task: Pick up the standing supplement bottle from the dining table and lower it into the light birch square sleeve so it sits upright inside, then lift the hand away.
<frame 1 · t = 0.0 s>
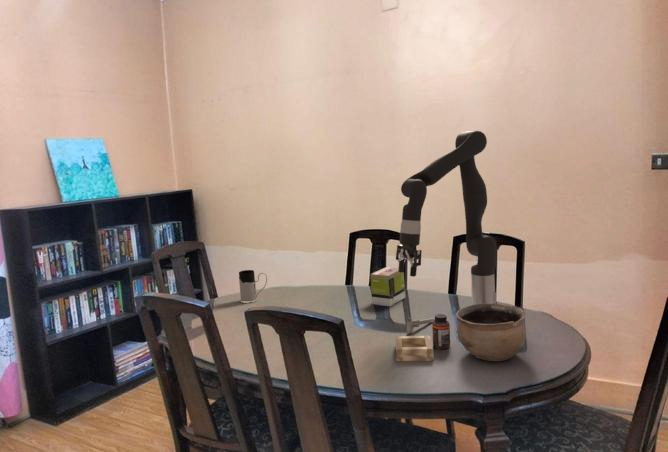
hand: (406, 274, 185), 22 cm above the table, tool pointing down, fingers open, 8 cm apart
supplement bottle: (441, 346, 171), on the table
square sleeve: (413, 353, 166), on the table
ceramic bowl: (490, 356, 160), on the table
tea box: (388, 301, 228), on the table
glass holder: (254, 300, 243), on the table
caliper: (422, 328, 191), on the table
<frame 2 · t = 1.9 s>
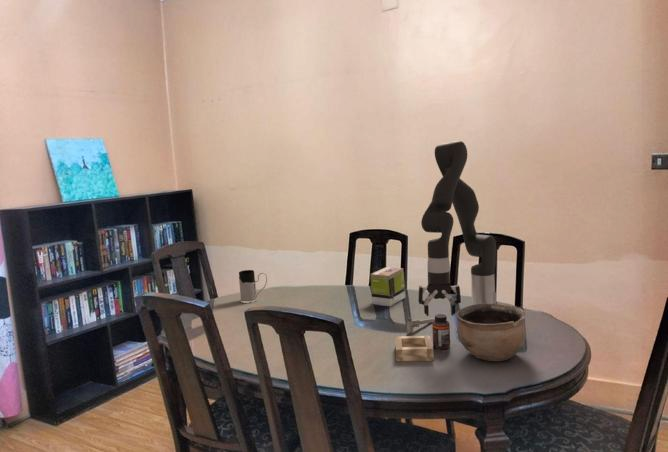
hand: (439, 315, 169), 11 cm above the table, tool pointing down, fingers open, 8 cm apart
nothing on the table moved.
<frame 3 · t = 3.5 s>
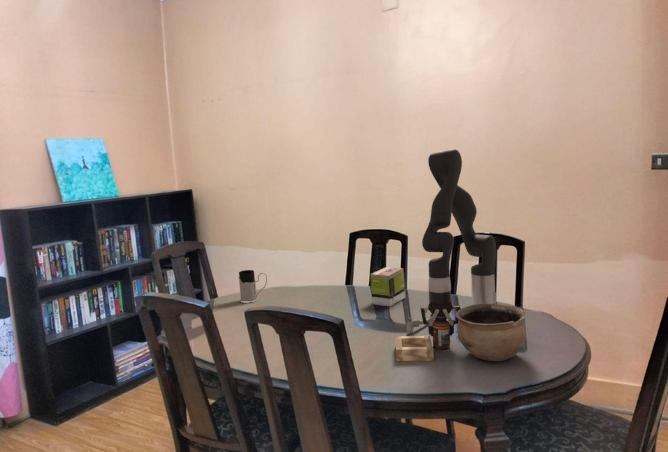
hand: (441, 335, 170), 4 cm above the table, tool pointing down, fingers closed on supplement bottle, 6 cm apart
supplement bottle: (441, 346, 171), on the table, touching gripper
everything else where it was.
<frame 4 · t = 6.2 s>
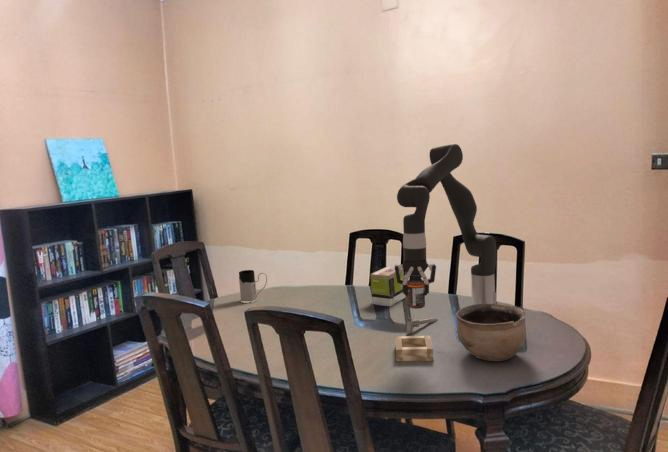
hand: (415, 294, 164), 21 cm above the table, tool pointing down, fingers closed on supplement bottle, 6 cm apart
supplement bottle: (416, 307, 164), point 16 cm above the table, touching gripper
everything else where it was.
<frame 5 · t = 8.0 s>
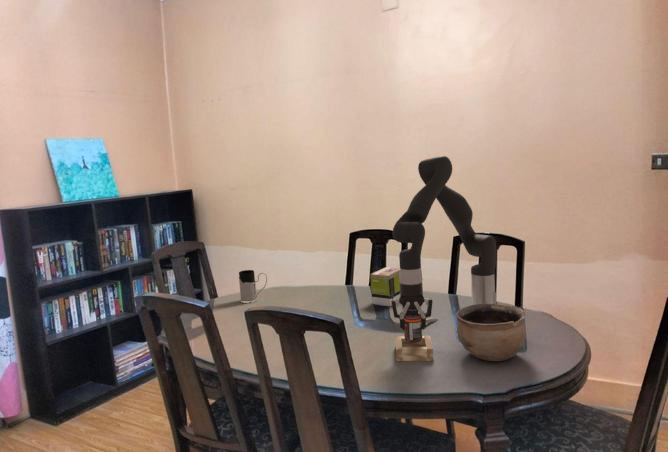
hand: (412, 328, 165), 9 cm above the table, tool pointing down, fingers closed on supplement bottle, 6 cm apart
supplement bottle: (413, 340, 165), point 5 cm above the table, touching gripper
everything else where it was.
when the fingers open (5 cm above the table, at t = 9.2 s): supplement bottle drops 1 cm, resting in square sleeve.
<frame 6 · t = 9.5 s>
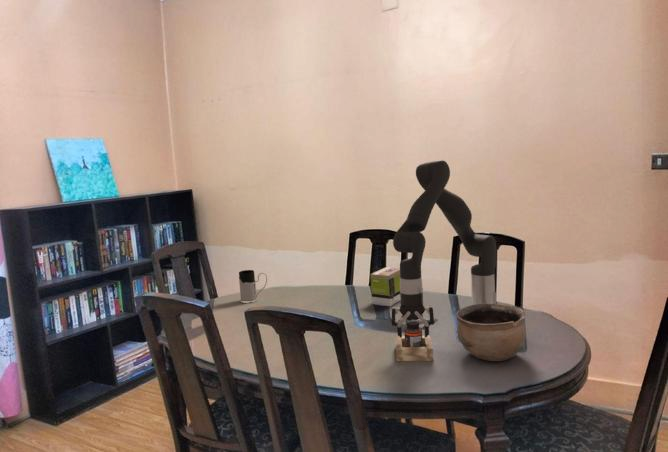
hand: (413, 336, 165), 6 cm above the table, tool pointing down, fingers open, 8 cm apart
supplement bottle: (414, 354, 166), resting in square sleeve
everything else where it was.
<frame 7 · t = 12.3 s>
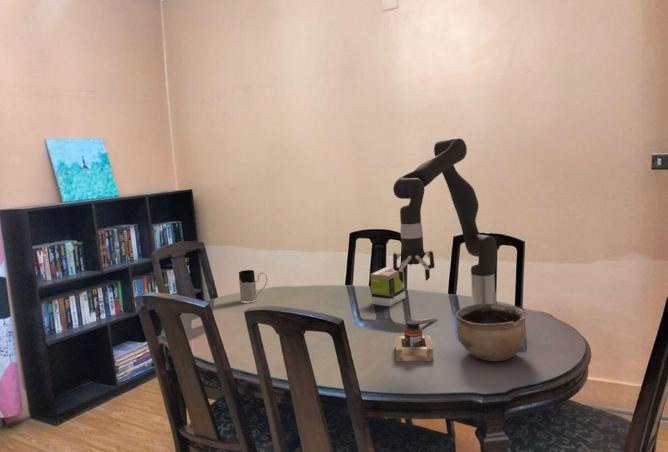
hand: (414, 280, 171), 23 cm above the table, tool pointing down, fingers open, 8 cm apart
nothing on the table moved.
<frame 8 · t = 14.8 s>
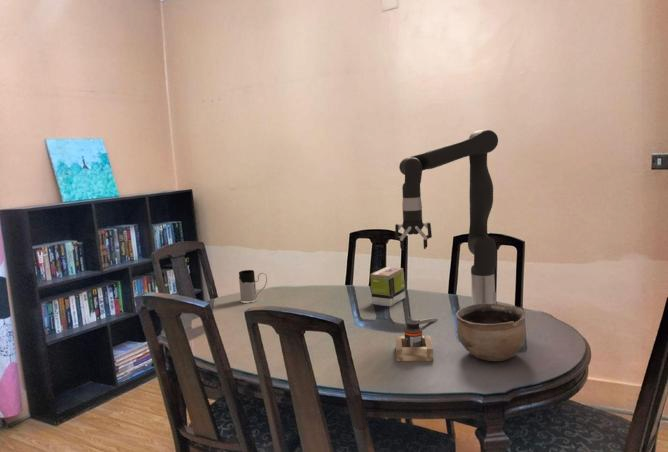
hand: (413, 249, 193), 30 cm above the table, tool pointing down, fingers open, 8 cm apart
nothing on the table moved.
at the end: supplement bottle 0.1 cm from the square sleeve (horizontally); supplement bottle tilted 0°; the gripper is holding nothing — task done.
